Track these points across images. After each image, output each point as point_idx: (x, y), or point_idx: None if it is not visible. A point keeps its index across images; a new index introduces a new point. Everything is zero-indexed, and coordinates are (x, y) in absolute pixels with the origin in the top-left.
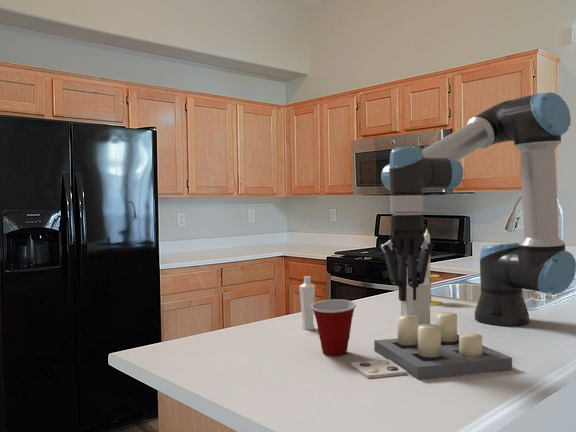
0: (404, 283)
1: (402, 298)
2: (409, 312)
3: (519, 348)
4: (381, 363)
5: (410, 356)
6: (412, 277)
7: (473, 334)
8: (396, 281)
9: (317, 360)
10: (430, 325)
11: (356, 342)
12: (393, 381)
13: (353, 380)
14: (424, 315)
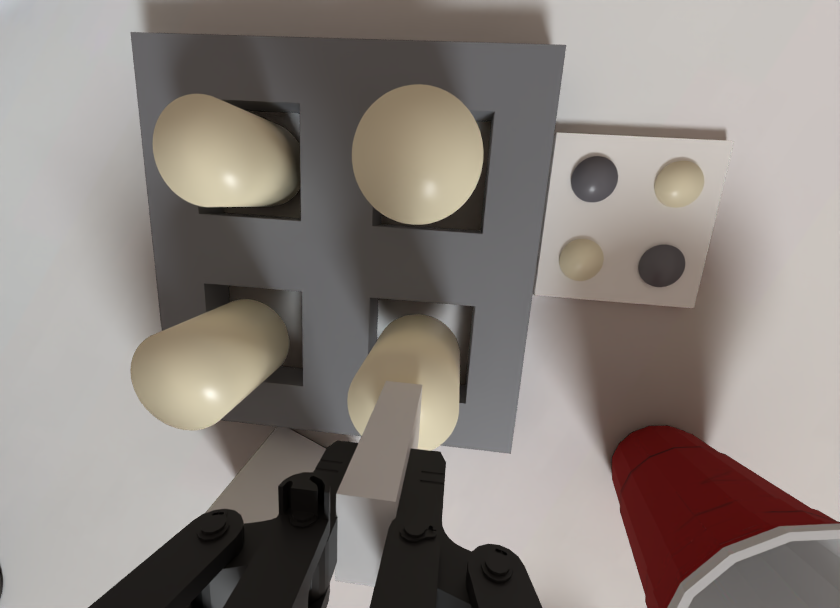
0: (412, 547)
1: (437, 463)
2: (406, 392)
3: (19, 266)
4: (599, 248)
5: (503, 200)
6: (299, 587)
7: (179, 165)
8: (508, 584)
9: (769, 406)
10: (394, 179)
11: (512, 537)
12: (652, 74)
13: (789, 139)
14: (243, 505)
